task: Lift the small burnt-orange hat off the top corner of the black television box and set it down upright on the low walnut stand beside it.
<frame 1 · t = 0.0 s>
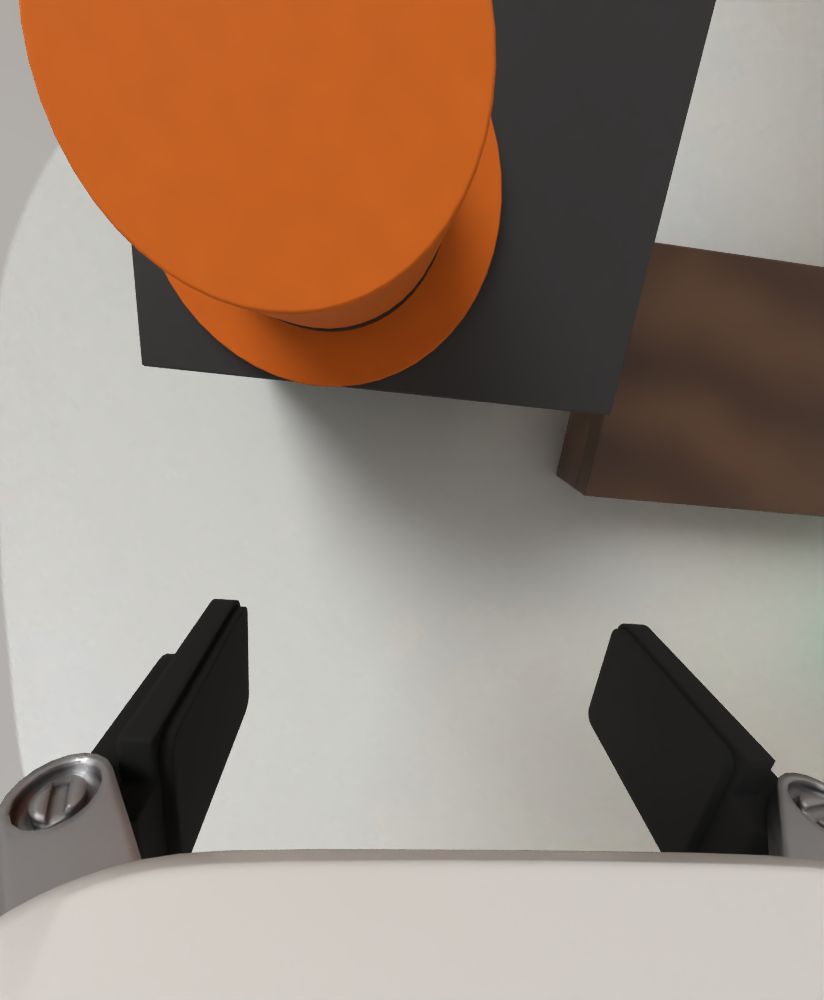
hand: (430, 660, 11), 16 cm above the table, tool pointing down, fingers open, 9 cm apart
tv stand: (738, 393, 26), on the table
hat: (326, 207, 11), point 12 cm above the table, touching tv
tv: (394, 273, 23), on the table
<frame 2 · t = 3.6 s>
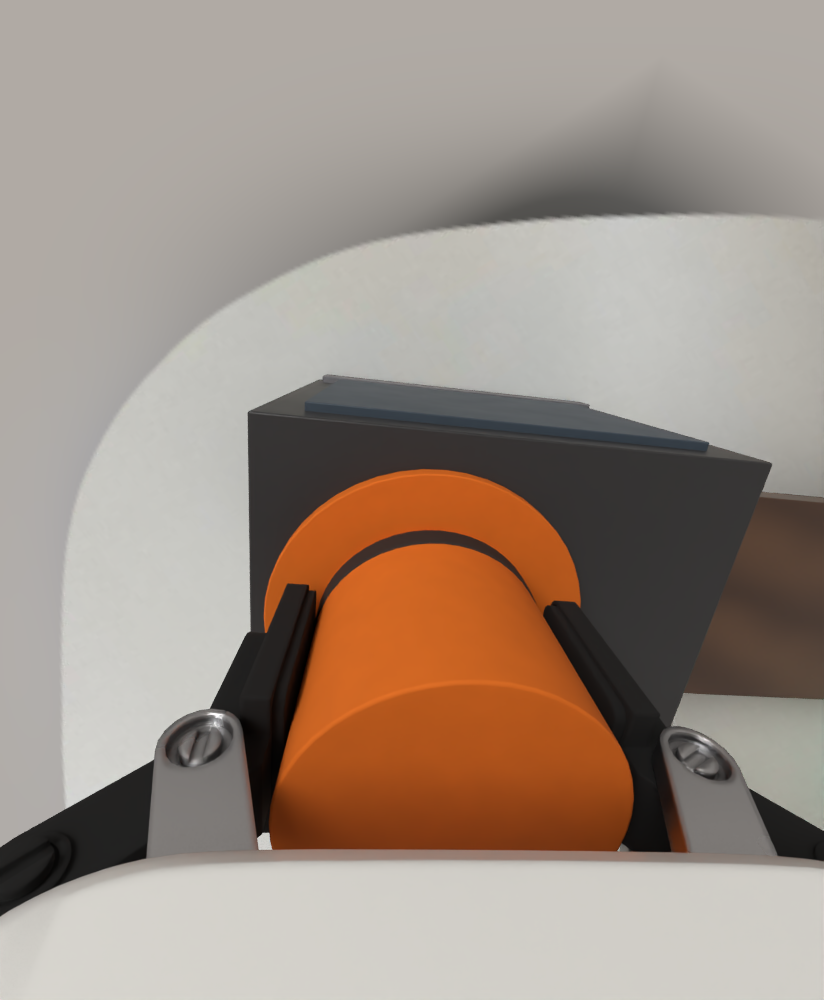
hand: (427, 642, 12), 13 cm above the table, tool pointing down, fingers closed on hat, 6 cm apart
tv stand: (761, 574, 27), on the table
hat: (423, 616, 13), point 12 cm above the table, touching gripper, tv
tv: (442, 485, 24), on the table
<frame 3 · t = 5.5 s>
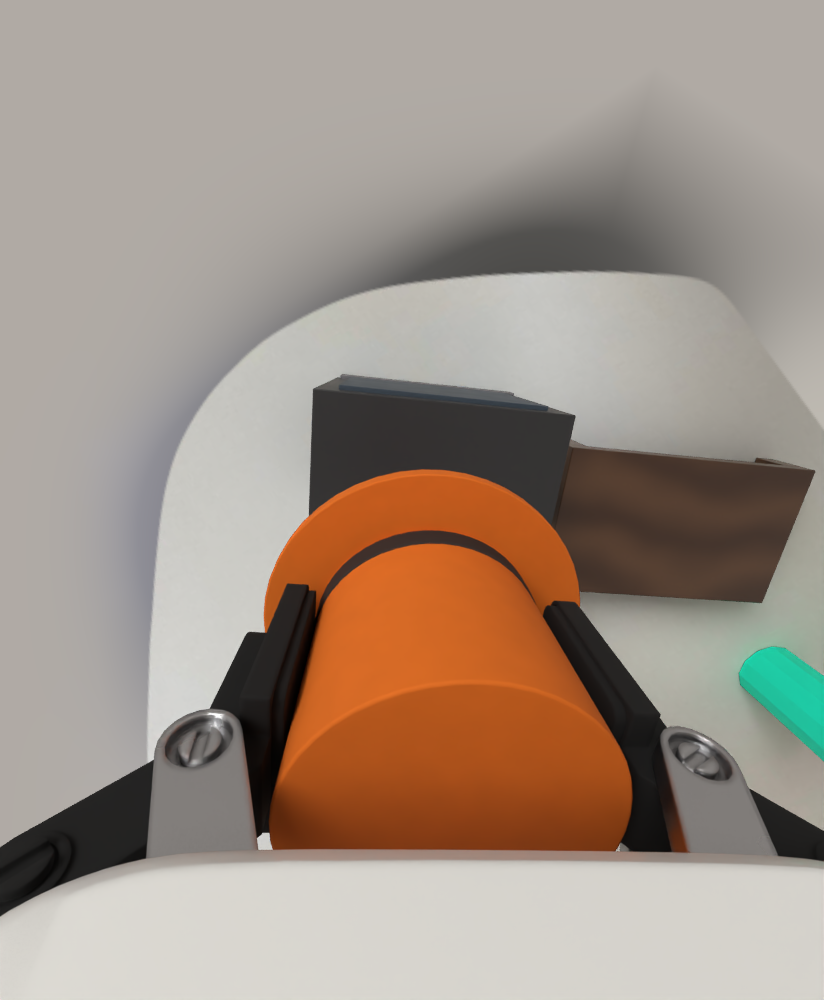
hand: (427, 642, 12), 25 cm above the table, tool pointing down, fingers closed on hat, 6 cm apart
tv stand: (646, 514, 39), on the table
hat: (423, 616, 13), point 24 cm above the table, touching gripper
candle: (765, 669, 45), on the table
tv: (419, 449, 36), on the table
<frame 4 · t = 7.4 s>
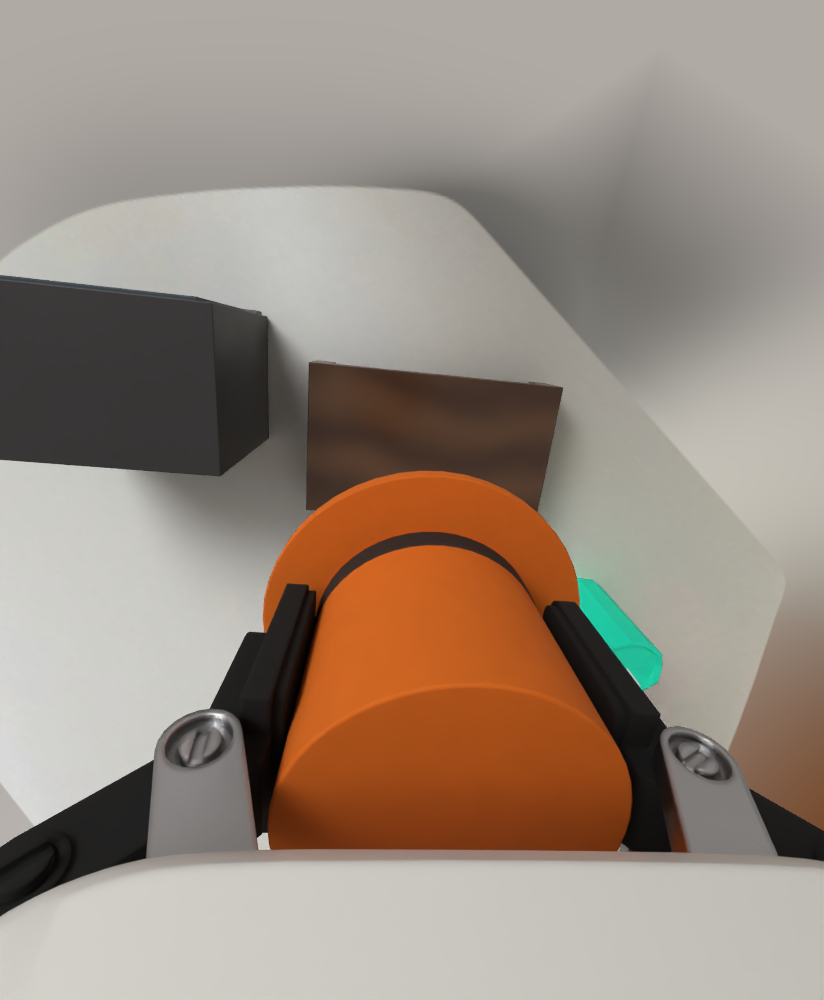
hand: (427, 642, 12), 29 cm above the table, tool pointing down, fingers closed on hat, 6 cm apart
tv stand: (426, 440, 39), on the table
hat: (423, 617, 13), point 28 cm above the table, touching gripper
candle: (576, 601, 46), on the table
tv: (182, 372, 36), on the table
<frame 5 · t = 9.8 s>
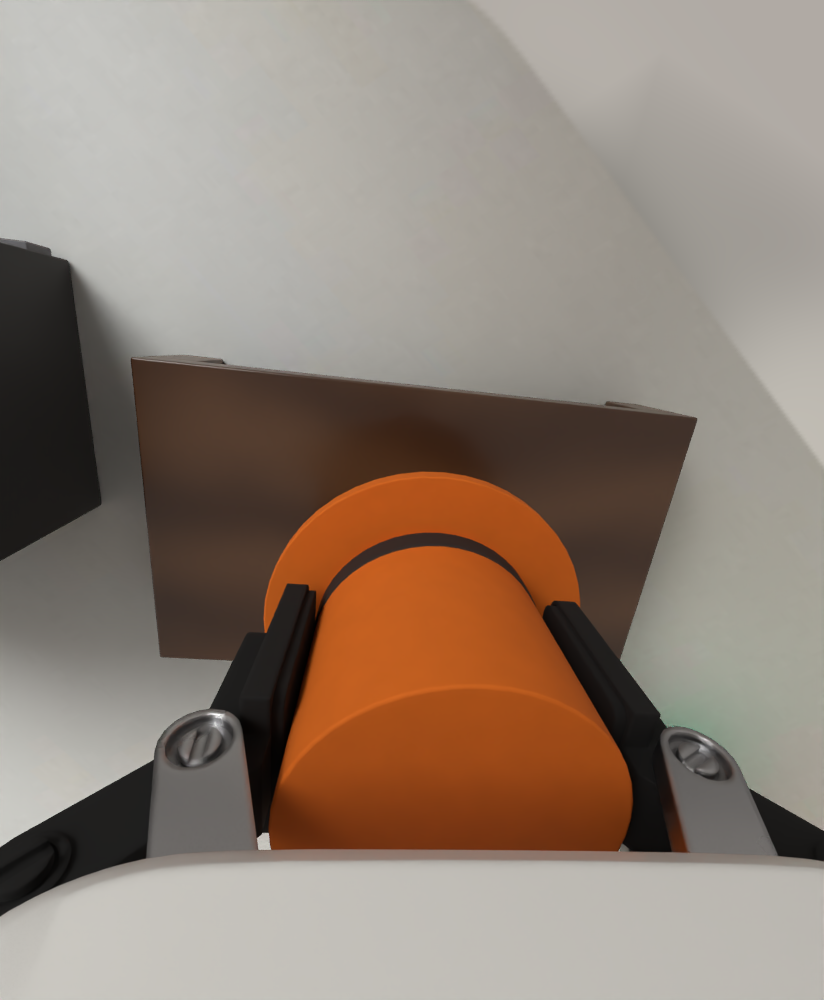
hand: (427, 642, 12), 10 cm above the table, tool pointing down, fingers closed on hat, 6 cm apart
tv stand: (407, 509, 21), on the table
hat: (423, 618, 13), point 9 cm above the table, touching gripper
when the fingers open (5 cm above the table, at t = 11.4 s): hat stays where it is, resting on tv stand.
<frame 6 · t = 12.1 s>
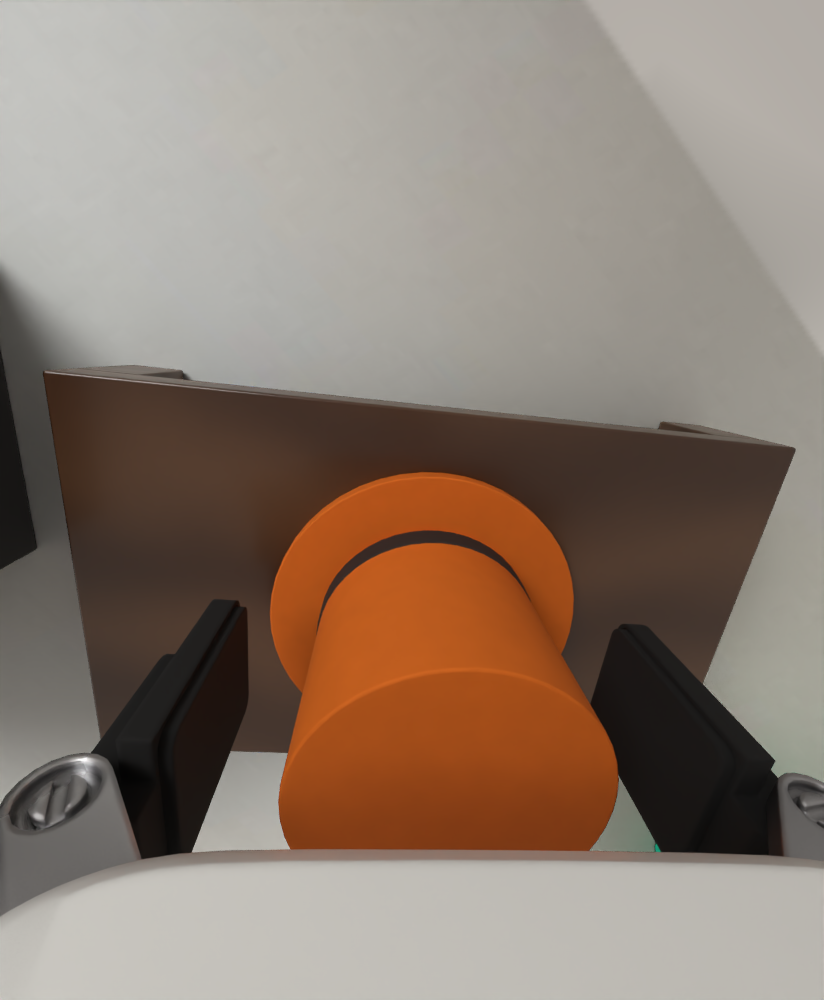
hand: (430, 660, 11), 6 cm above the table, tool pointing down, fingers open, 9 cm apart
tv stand: (414, 552, 17), on the table
hat: (423, 613, 13), point 4 cm above the table, touching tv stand
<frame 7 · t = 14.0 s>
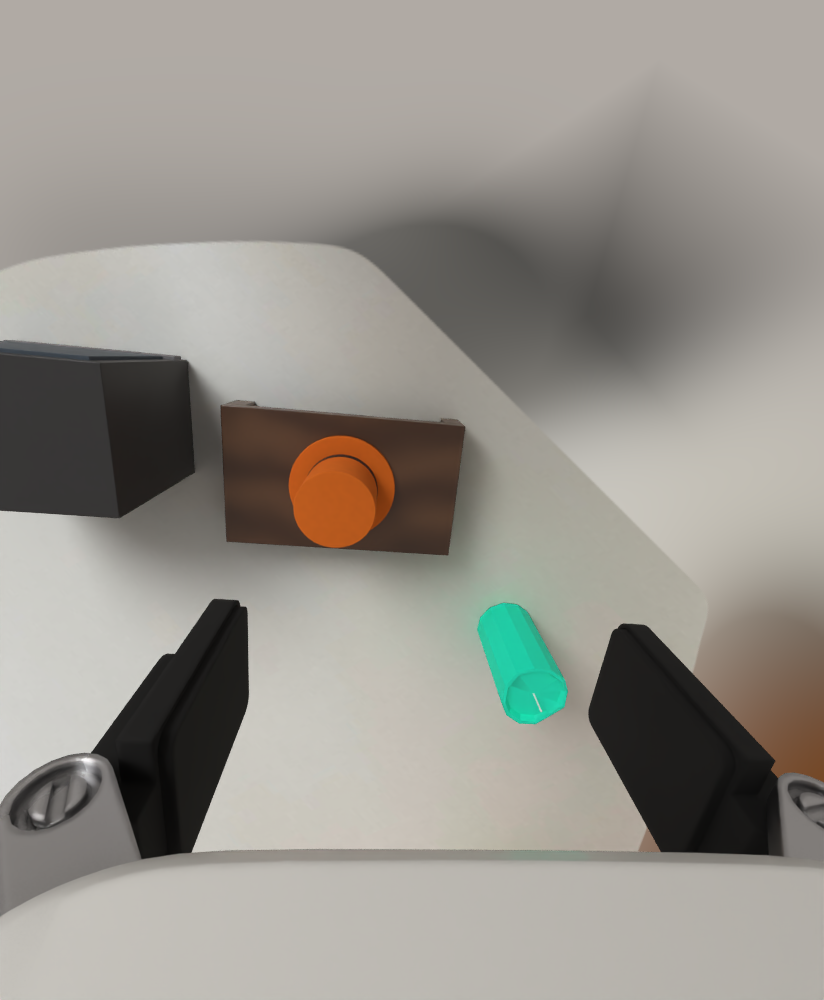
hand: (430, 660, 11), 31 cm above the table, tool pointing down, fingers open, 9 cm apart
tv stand: (346, 473, 41), on the table
hat: (342, 487, 37), point 4 cm above the table, touching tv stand
candle: (503, 625, 48), on the table
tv: (109, 411, 38), on the table
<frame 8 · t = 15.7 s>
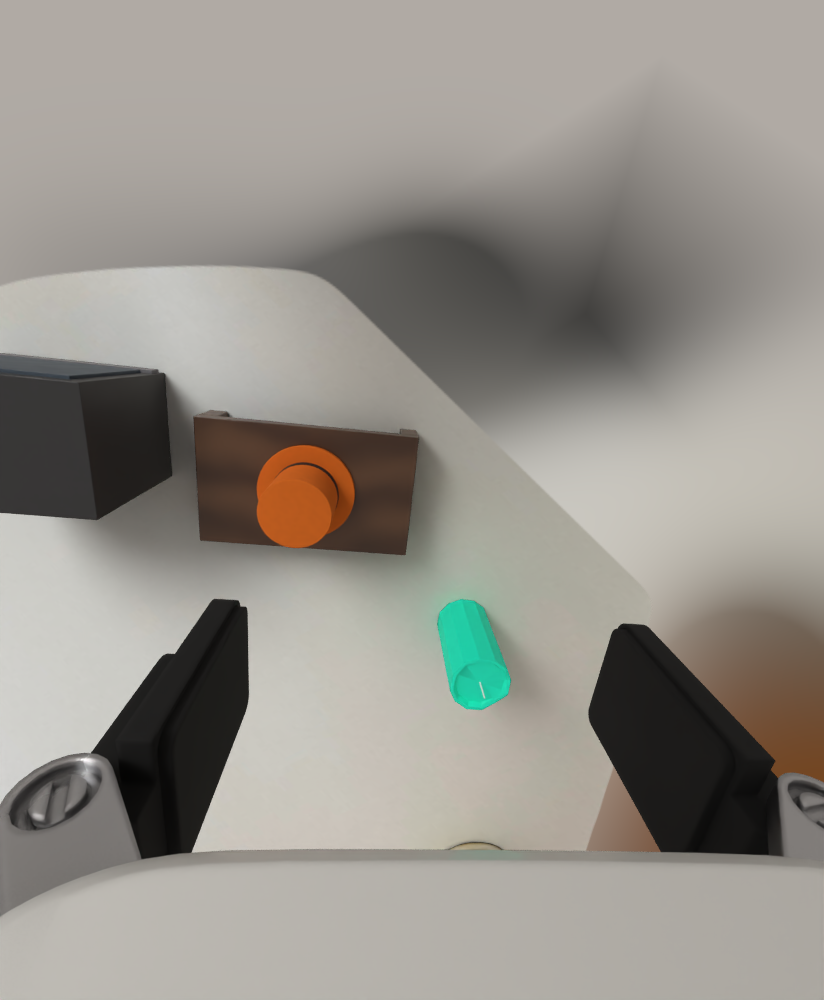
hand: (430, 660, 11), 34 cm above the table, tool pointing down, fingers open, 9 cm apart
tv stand: (313, 478, 44), on the table
hat: (307, 491, 41), point 4 cm above the table, touching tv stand
candle: (462, 620, 51), on the table
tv: (92, 419, 41), on the table
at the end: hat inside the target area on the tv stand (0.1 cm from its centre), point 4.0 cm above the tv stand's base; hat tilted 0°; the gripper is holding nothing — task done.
